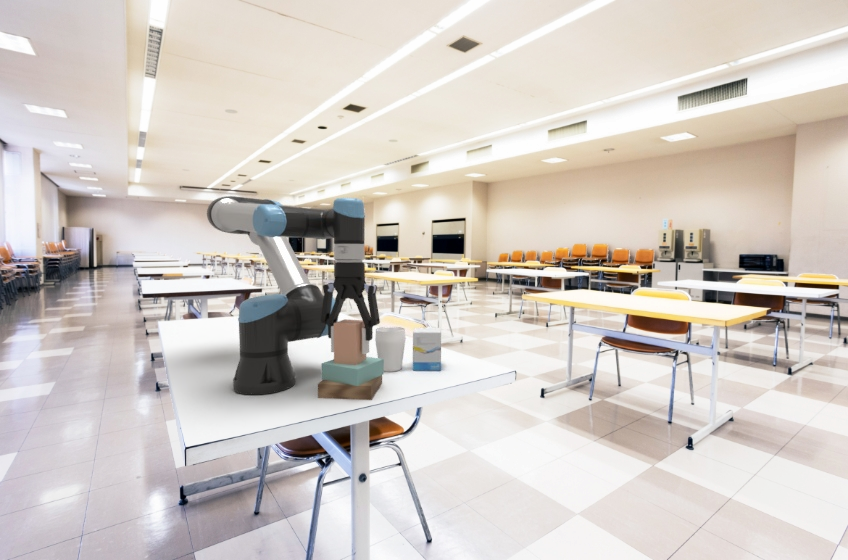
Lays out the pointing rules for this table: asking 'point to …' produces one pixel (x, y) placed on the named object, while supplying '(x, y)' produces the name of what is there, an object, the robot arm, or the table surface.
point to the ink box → (427, 349)
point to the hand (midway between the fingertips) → (350, 352)
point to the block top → (352, 371)
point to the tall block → (348, 342)
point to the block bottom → (349, 390)
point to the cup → (390, 347)
